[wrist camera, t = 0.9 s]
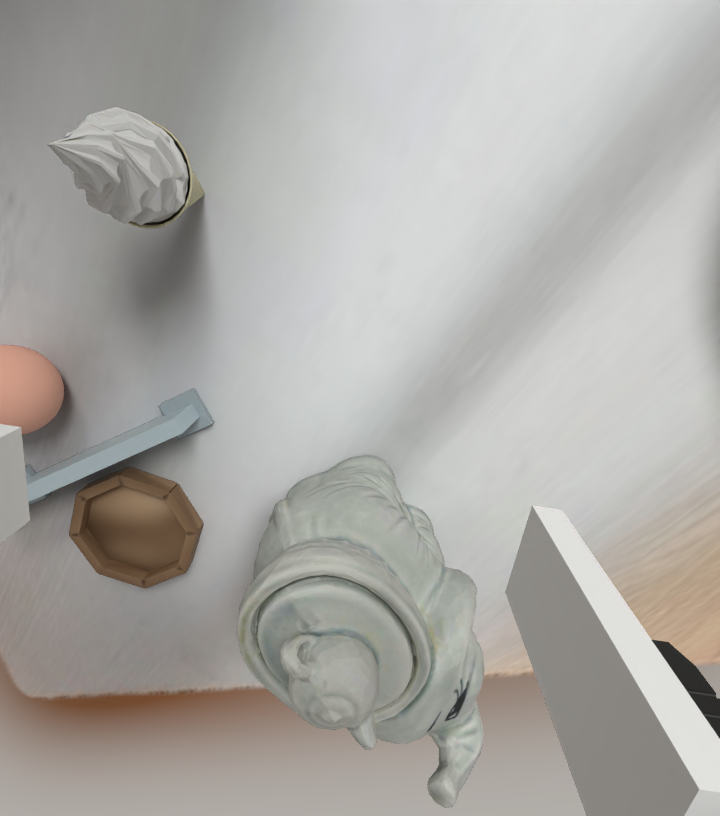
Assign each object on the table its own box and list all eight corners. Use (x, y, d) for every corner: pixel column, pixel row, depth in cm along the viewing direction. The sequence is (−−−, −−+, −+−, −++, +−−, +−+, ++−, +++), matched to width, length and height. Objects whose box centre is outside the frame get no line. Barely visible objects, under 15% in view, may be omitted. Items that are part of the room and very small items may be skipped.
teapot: (452, 616, 42) (505, 889, 24) (283, 604, 42) (212, 865, 24) (476, 446, 36) (569, 636, 19) (283, 434, 37) (192, 609, 19)
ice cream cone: (182, 133, 30) (8, 31, 16) (251, 180, 31) (142, 123, 17) (150, 204, 32) (-36, 169, 17) (216, 248, 32) (89, 248, 18)
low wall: (0, 477, 39) (-41, 502, 35) (194, 387, 36) (172, 404, 32) (22, 506, 40) (-15, 533, 36) (214, 421, 37) (194, 441, 33)
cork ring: (59, 497, 39) (47, 506, 38) (158, 453, 38) (150, 461, 36) (125, 587, 42) (116, 599, 41) (221, 550, 40) (215, 561, 39)
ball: (-18, 358, 36) (-99, 380, 30) (49, 323, 35) (-21, 339, 29) (34, 430, 37) (-33, 465, 31) (99, 398, 36) (43, 429, 30)
